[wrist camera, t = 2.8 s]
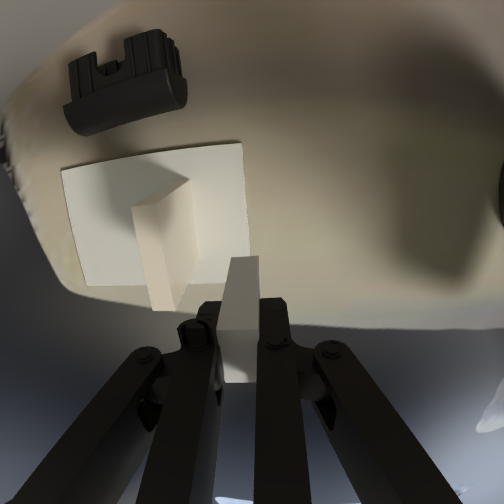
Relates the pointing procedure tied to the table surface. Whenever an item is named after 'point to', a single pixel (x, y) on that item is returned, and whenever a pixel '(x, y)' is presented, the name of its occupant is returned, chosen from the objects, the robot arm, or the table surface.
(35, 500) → the robot arm
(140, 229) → the tile
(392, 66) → the table surface
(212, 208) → the mat
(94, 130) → the end cap
